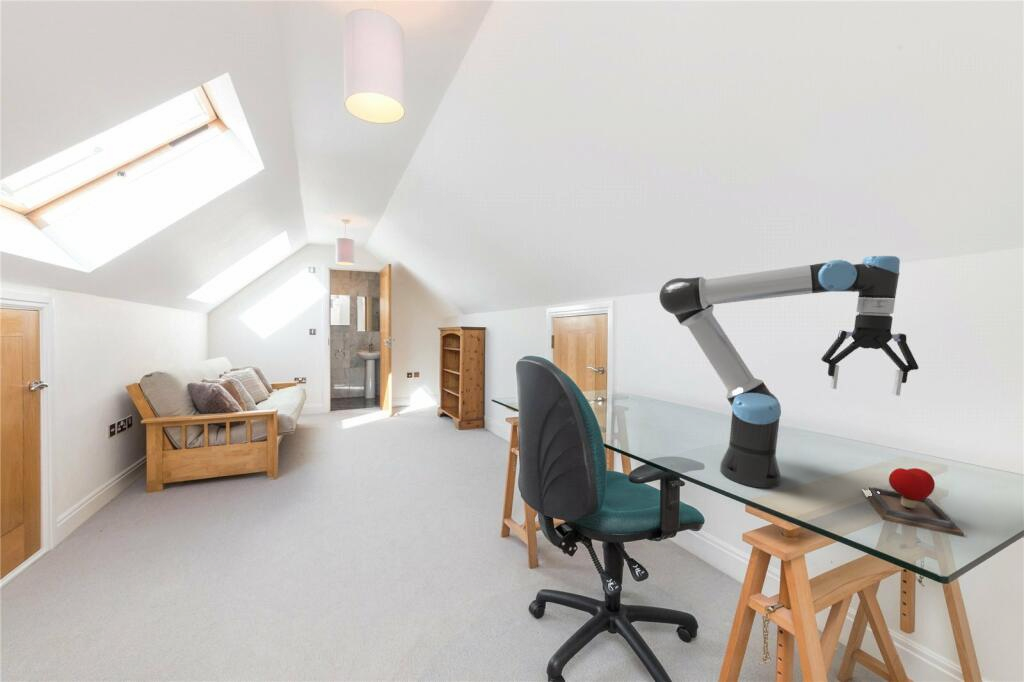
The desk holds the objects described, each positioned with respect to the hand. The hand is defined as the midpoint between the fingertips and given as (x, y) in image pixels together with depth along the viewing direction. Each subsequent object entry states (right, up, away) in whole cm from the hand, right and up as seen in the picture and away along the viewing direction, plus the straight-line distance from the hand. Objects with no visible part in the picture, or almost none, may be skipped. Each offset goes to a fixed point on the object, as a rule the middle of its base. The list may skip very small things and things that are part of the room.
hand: (863, 391), depth 113 cm
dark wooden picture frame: (+1, -28, -12) cm, 31 cm away
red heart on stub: (+1, -28, -12) cm, 30 cm away
